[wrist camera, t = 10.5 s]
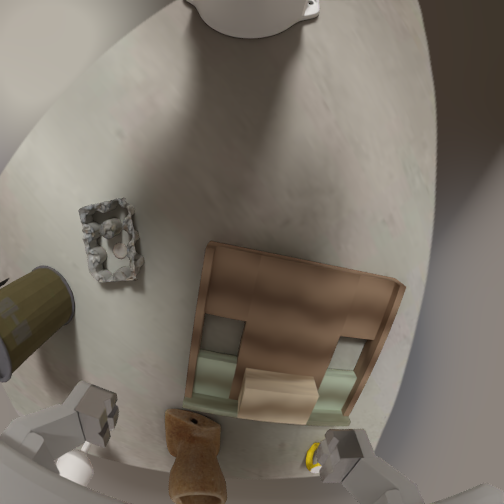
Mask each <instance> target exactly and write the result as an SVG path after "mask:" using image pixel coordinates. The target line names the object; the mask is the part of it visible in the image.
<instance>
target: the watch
mask: <svg viewBox="0 0 504 504" xmlns="http://www.w3.org/2000/svg"><path fill="white" fill-rule="evenodd" d="M319 444H320V443H314V444H313V445H312V446H311V448H310V449H309V450H308V451H307V455H306V467H307V469H308V470H309V471H311V472H312V473H319V470H320V469H321V467H322V466H321V465H320V464H319V463H318V462H317V464H315V465H313V455H314V452H315V450H316V449H317V448H318V446H319Z"/></svg>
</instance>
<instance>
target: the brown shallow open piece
mask: <svg viewBox="0 0 504 504" xmlns="http://www.w3.org/2000/svg"><path fill="white" fill-rule="evenodd" d="M405 289H406V286H404V285H403V284H402V283H401V282H399V281H398V280H397V279H395V278H391V277H386V276H381V275H376V274H371V273H367V272H362V271H357V270H352V269H347V268H342V267H337V266H332V265H327V264H322V263H317V262H313V261H308V260H303V259H298V258H293V257H288V256H283V255H278V254H273V253H268V252H263V251H258V250H253V249H248V248H243V247H238V246H233V245H228V244H223V243H218V242H213V241H210V242H209V243H208V245H207V247H206V251H205V257H204V262H203V268H202V275H201V281H200V287H199V293H198V300H197V306H196V313H195V320H194V327H193V334H192V341H191V349H190V357H189V364H188V372H187V381H186V389H185V397H184V401H183V407H182V408H186V409H190V410H195V411H200V412H205V413H210V414H216V415H221V416H227V417H234V418H237V414H238V397H239V393H240V389H241V385H242V382H243V378H244V374H245V370H246V368H250V369H257V370H263V371H270V372H277V373H285V374H293V375H302V376H312V377H314V380H315V384H316V387H317V391H318V394H319V398H318V400H317V402H316V404H315V406H314V408H313V411H312V413H311V415H310V417H309V419H308V421H307V423H306V425H314V426H349V424H350V423H351V421H350V419H349V414H350V413H351V411H352V409H353V407H354V405H355V403H356V402H357V400H358V398H359V396H360V394H361V392H362V390H363V388H364V386H365V384H366V382H367V380H368V378H369V376H370V374H371V372H372V370H373V368H374V365H375V363H376V361H377V359H378V357H379V355H380V352H381V350H382V348H383V346H384V343H385V341H386V338H387V336H388V334H389V331H390V329H391V326H392V324H393V321H394V319H395V316H396V314H397V311H398V308H399V306H400V303H401V300H402V298H403V295H404V292H405ZM205 314H211V315H216V316H221V317H226V318H231V319H236V320H241V321H245V325H244V329H243V334H242V338H241V342H240V347H239V351H238V355H237V356H233V355H228V354H222V353H217V352H212V351H207V350H202V349H200V345H201V339H202V332H203V326H204V320H205ZM340 336H344V337H352V338H361V339H367V340H366V343H365V345H364V348H363V350H362V352H361V355H360V357H359V359H358V362H357V364H356V366H355V368H354V371H350V370H338V369H327V368H328V366H329V363H330V361H331V358H332V356H333V353H334V351H335V348H336V345H337V343H338V340H339V338H340ZM240 419H242V418H240ZM247 420H249V419H247ZM255 421H257V420H255ZM264 422H266V421H264ZM273 423H275V422H273ZM284 424H287V423H284ZM296 425H300V424H296Z"/></svg>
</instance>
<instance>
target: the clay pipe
mask: <svg viewBox="0 0 504 504" xmlns="http://www.w3.org/2000/svg"><path fill="white" fill-rule="evenodd" d="M165 430H166V442H167V447H168V451H169V453H170V454H171V455H172V456H174V457H176V460H175V462H174V465H173V467H172V469H171V472H170V478H169V495H170V498H171V499H172V500H173V502H174V503H176V504H225V502H226V500H227V492H226V482H225V479H224V476H223V474H222V471H221V468H220V466H219V463H218V460H217V457H216V456H217V455H218V453H219V449H220V432H221V426H220V425H219V424H218V423H216V422H214V421H213V420H211V419H209V418H207V417H205V416H203V415H200V414H198V413H193V412H190V411H186V410H180V409H167V410H166V411H165Z"/></svg>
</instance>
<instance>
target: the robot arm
mask: <svg viewBox="0 0 504 504" xmlns="http://www.w3.org/2000/svg"><path fill="white" fill-rule="evenodd" d="M186 1H188V2H189V3H191V4H192V5H194V6H195V7H196V8H197V10H198V12H199V14H200V16H201V18H202V19H203V20H204V22H205V23H206V24H207V25H209V26H210V27H211V28H213V29H214V30H216V31H218V32H220V33H223V34H226V35H229V36H233V37H239V38H261V37H267V36H271V35H275V34H277V33H280V32H282V31H284V30H286V29H288V28H289V27H291V26H292V25H293V24H295V23H297V22H298V21H301V20H306V19H311V18H314V17H317V16H318V14H319V11H320V7H319V0H186ZM308 3H311V4H313V5H310V4H308ZM117 400H118V399H117V394H116V393H114V392H112V391H109V390H106V389H103V388H101V387H98V386H96V385H93V384H90V383H88V382H85V381H83V380H81V381H79V382H78V383H77V385H76V386H75V387H74V389H73V390H72V392H71V393H70V394H69V396H68V397H67V398H66V400H65V401H64V403H63V404H62V405H61V404H56V405H54V406H51V407H48V408H45V409H42V410H39V411H37V412H34V413H31V414H28V415H25V416H22V417H19V418H15V419H13V420H12V421H11V423H10V424H9V425H8V426H7V428H6V429H5V430H4V432H3V433H2V434H1V436H0V504H131V503H128V502H125V501H122V500H119V499H116V498H113V497H110V496H107V495H105V494H102V493H100V492H97V491H94V490H92V489H90V488H87V487H85V486H82V485H80V484H78V483H76V482H73V481H71V480H69V479H67V478H65V477H63V476H61V475H60V472H59V470H58V468H57V466H56V464H55V462H54V460H55V459H57V458H59V457H60V456H62V455H64V454H66V453H68V452H69V451H71V450H73V449H74V448H76V447H78V446H80V445H81V444H83V443H85V441H87V442H89V443H92V444H95V445H98V446H100V447H103V448H105V447H106V445H107V443H108V441H109V439H110V437H111V436H110V430H112V429H114V428H115V426H116V424H117V420H118V415H119V409H118V406H117V405H116V402H117ZM317 462H318V463H319V464H320V465H321V466H322V467H321V469H320V470H319V472H320V477H321V481H322V483H339V482H342V483H341V484H342V485H343V486H344V487H345V488H346V489H347V490H348V492H349V493H350V494H351V495H352V496H353V497H354V498H355V499H356V500H357V501H358V502H359V503H360V504H425V503H424V501H423V498H422V496H421V494H420V491H419V489H418V487H417V484H416V483H414V482H413V481H411V480H409V479H408V478H407V477H405V476H404V475H403V474H401V473H400V472H399V471H397V470H396V469H395V468H393V467H392V466H390V465H389V464H388V463H387V462H385V461H384V460H383V459H381V458H380V457H376V456H375V453H374V451H373V448H372V446H371V443H370V441H369V438H368V436H367V433H366V431H365V430H364V429H329V430H328V431H327V432H326V434H325V439H324V440H323V441H321V442H320V444H319V446H318V449H317ZM431 504H504V491H502V490H500V489H499V488H497V487H495V486H493V485H491V484H488V483H483V484H480V485H478V486H475V487H473V488H471V489H468V490H466V491H464V492H461V493H459V494H456V495H453V496H451V497H448V498H446V499H442V500H439V501H437V502H434V503H431Z"/></svg>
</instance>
